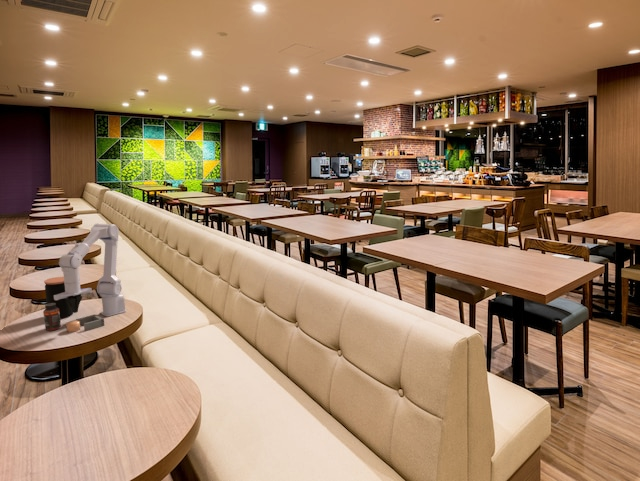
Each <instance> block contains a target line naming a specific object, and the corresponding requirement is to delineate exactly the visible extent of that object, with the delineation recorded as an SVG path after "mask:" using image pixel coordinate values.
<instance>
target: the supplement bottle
mask: <svg viewBox="0 0 640 481" xmlns="http://www.w3.org/2000/svg"><path fill="white" fill-rule="evenodd" d="M42 313H43V319H44V321H43V322H44V328H45V330H46V331H47V332H48V331H49V332H50V331H56V330H59V329H60V328H62V322H61V319H60V313H59V308H57V307H56V303H49V304H47V303H46V304H45V305H44V310H43V311H42Z"/></svg>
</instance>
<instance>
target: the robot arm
mask: <svg viewBox="0 0 640 481" xmlns="http://www.w3.org/2000/svg"><path fill="white" fill-rule="evenodd" d="M119 231H120V229H119V227H118V226H117V224H114V223H110V224H109V223H95V224H93V226H92V227H91V228H90V232H89V234H88V235H87V236H86V237H85V239H84V240H83V241H82V242H77V243H75V244H74V247H72V249H71V250H69V251H68V252H67V253H65V254H63V255H61V256H60V257H59V259H58V260H59V261H58V265H59V267H60V268H61V271H62V273H63V274H62V275H63V277H64V284H65V292H63V293H60V294H57V295H54V300H59V299H63V298H65V299H66V300H67V301H68V303H69V304H70V306H71V309H72V312H73V314H76V313H79V312H78V311H79V307H80V303H81V301H82V299H83V295H85V294H92V293H93V290H92V287H87V288H85V287H84V288H81V281H80V280H81V279H80V272H79V271H80V270H79V267H80V266H81V264H82V261H83V258H85V256H86V255H87V254H88V253H89V252H90V247H92V245H94V244H95V243H96V242H97V241H98V240H100V241H102V242H103V243H104V259H103V260H104V261H103V272H102V273H103V274H102V275H103V276H101V277H100V278H99V279H98V282H97V285H96V292H97V294H98V295H99V297H101V304H102V311H99V314H101V315H103V316H105V317H106V318H107V317H111V316H115V315H119V314H123V313H126V312H127V310H126V302H125V297H124V295H123V293H122V284H121V279H120V278H119V277H117V276H116V274H117V261H118V260H117V259H118V258H117V256H118V242H119V233H120V232H119Z"/></svg>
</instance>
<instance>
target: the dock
mask: <svg viewBox="0 0 640 481" xmlns="http://www.w3.org/2000/svg"><path fill="white" fill-rule="evenodd" d="M75 321H79V322H80V326H83V328H84V331H89V330H94V329H98V328H100V327H103V326H105V319H104V318H103V317H101V316H98V315H97V314H91V315H87V316H84V317H83V316H82V317H80V318H76V320H75Z"/></svg>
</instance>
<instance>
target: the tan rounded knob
mask: <svg viewBox="0 0 640 481" xmlns="http://www.w3.org/2000/svg"><path fill="white" fill-rule="evenodd" d="M66 331H67V333H76V332H79V331H81V325H80V322H79V321H76V320H72V321H69V322H66Z"/></svg>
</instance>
